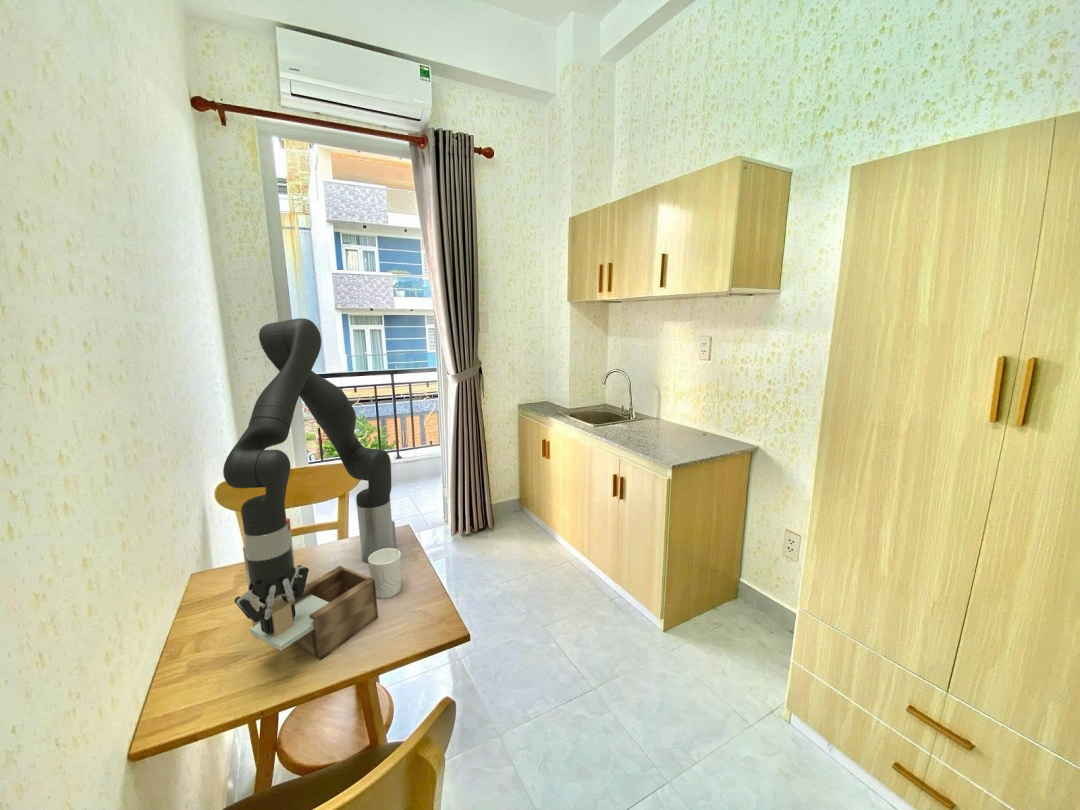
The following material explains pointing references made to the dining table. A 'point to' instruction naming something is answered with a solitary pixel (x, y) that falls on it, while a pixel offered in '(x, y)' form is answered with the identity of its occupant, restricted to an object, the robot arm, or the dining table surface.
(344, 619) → the walnut box
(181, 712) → the dining table surface
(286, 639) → the lid
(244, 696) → the dining table surface
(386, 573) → the white cup
